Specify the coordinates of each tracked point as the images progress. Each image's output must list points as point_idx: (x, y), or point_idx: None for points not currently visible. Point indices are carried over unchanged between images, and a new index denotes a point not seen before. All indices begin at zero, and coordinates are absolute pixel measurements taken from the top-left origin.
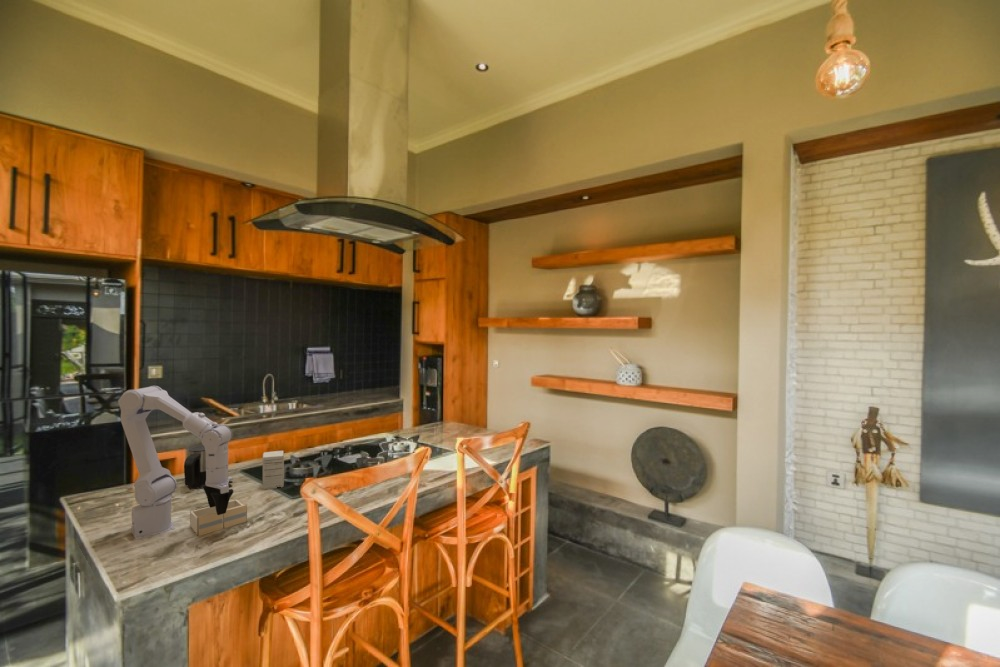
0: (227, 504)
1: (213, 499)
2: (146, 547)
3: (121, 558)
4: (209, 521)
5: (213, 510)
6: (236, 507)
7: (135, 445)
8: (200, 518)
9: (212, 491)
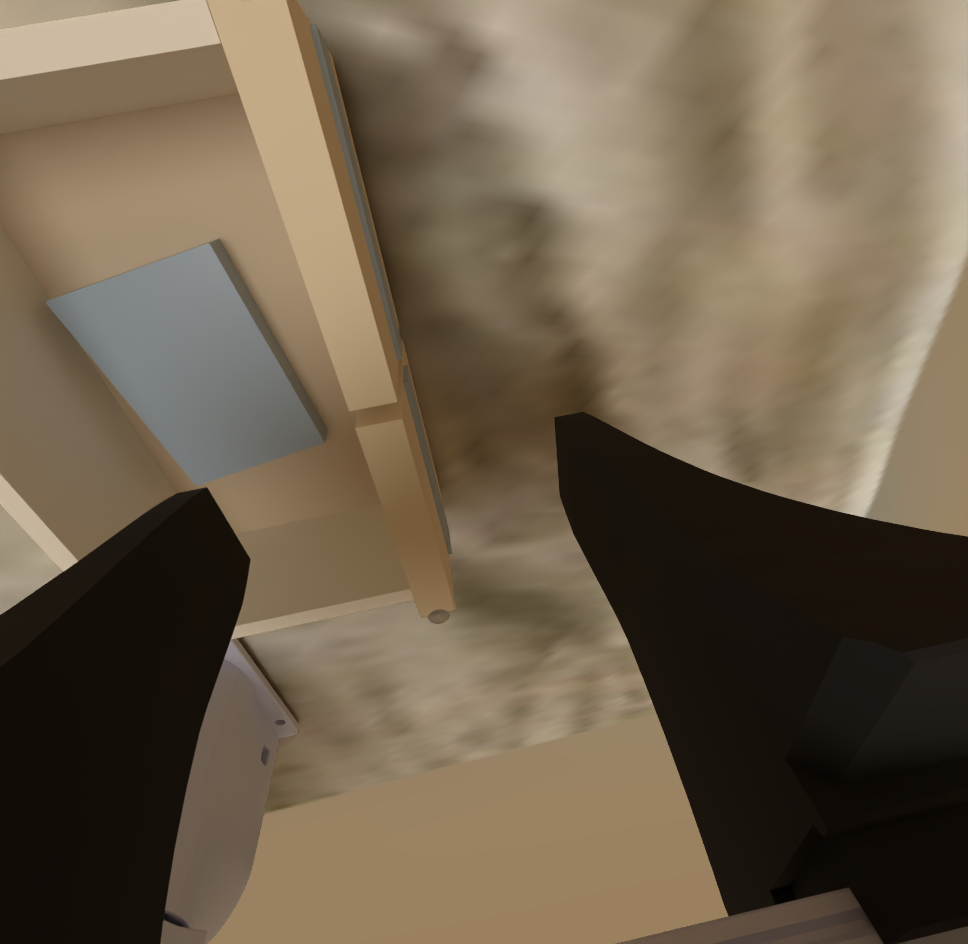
0: (672, 460)
1: (185, 617)
2: (413, 682)
3: (475, 727)
4: (434, 496)
5: (50, 452)
6: (326, 210)
7: None
8: (451, 594)
9: (111, 794)
